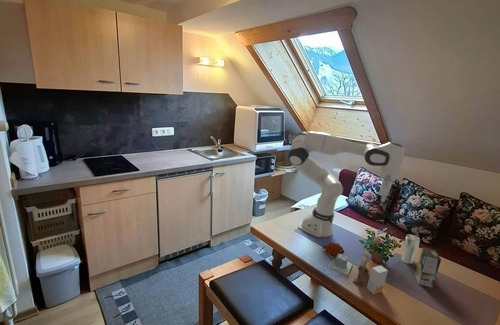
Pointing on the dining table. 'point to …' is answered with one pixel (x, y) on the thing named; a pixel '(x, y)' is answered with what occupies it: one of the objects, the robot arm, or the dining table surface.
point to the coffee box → (427, 267)
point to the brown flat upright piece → (362, 269)
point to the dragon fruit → (333, 249)
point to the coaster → (344, 271)
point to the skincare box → (377, 279)
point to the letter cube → (341, 261)
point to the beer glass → (410, 248)
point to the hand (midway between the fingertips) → (383, 198)
